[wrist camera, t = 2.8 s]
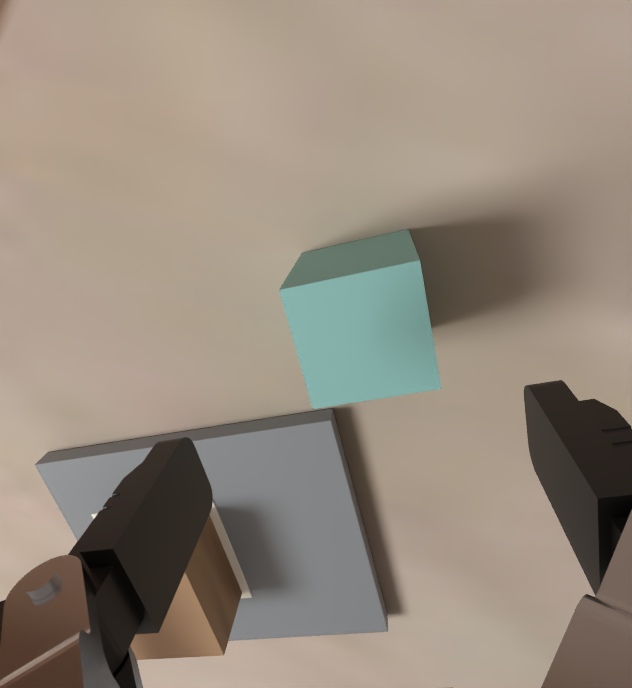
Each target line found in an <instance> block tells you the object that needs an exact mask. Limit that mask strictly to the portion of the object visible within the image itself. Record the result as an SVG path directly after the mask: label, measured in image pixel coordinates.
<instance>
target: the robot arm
mask: <svg viewBox="0 0 632 688" xmlns="http://www.w3.org/2000/svg"><path fill="white" fill-rule="evenodd" d="M524 401H525V412H526V423H527V434H528V445H529V451H530V456H531V460H532V463H533V466H534V469H535V472H536V474H537V476H538V478H539V480H540V482H541V484H542V486H543V488H544V490H545V493H546V495H547V497H548V499H549V501H550V503H551V505H552V507H553V509H554V511H555V513H556V515H557V517H558V519H559V521H560V523H561V526H562V528H563V530H564V532H565V534H566V536H567V538H568V540H569V542H570V544H571V546H572V548H573V550H574V552H575V554H576V556H577V558H578V561H579V563H580V565H581V567H582V569H583V571H584V573H585V575H586V577H587V579H588V581H589V583H590V585H591V587H592V589H593V591H594V594H595V597H593V596H590V595H588V594H586V595H584V596H583V597H582V599H581V600H580V602H579V603H578V605H577V607H576V609H575V612H574V614H573V616H572V618H571V621H570V623H569V625H568V628H567V630H566V632H565V634H564V637H563V639H562V641H561V644H560V646H559V648H558V650H557V653H556V655H555V657H554V660H553V662H552V664H551V666H550V669H549V671H548V673H547V676H546V678H545V680H544V682H543V685H542V687H541V688H632V429H631V426H630V425H629V424H628V423H627V421H626V420H625V419H624V418H623V417H622V416H621V415H620V413H619V412H618V411H617V410H615V409H613V408H611V407H609V406H607V405H605V404H603V403H601V402H599V401H597V400H596V399H590V400H583V401H578V399H577V398H576V397H575V396H574V394H573V393H572V392H571V390H570V389H569V388H568V386H567V385H566V384H565V383H564V382H563V381H562V380H559V381H553V382H546V383H540V384H533V385H527V386H525V388H524ZM212 503H213V494H212V488H211V485H210V482H209V480H208V477H207V475H206V472H205V470H204V467H203V465H202V462H201V460H200V458H199V455H198V453H197V450H196V448H195V445H194V443H193V442H192V440H191V439H190V438H188V437H183V438H177V439H170V440H164V441H159V442H157V443H156V444H155V445H154V446H153V448H152V449H151V451H150V452H149V454H148V455H147V457H146V458H145V459H144V461H143V462H142V464H139V465H138V466H137V467H136V468H135V469H134V470H132V471H131V472H130V473H129V474H128V475H127V476H125V477H124V478H123V479H122V481H121V482H120V484H119V485H118V486H117V488H116V489H115V490H114V492H113V493H112V497H109V499H108V500H107V502H106V503H105V504H104V506H103V510H100V511H99V513H98V514H97V515H96V517H95V518H94V520H93V521H92V522H91V524H90V525H89V526H88V528H87V529H86V531H85V532H84V533H83V535H82V536H81V538H80V539H79V540H78V542H77V543H76V544H75V546H74V547H73V549H72V550H71V551H70V553H69V554H68V555H63V556H59V557H55V558H53V559H50V560H48V561H46V562H44V563H42V564H40V565H39V566H37V567H35V568H34V569H32V570H31V571H30V572H28V573H27V574H26V575H25V576H24V577H23V578H22V579H20V580H19V581H18V583H17V584H16V585H15V586H14V587H13V588H12V590H11V591H10V593H9V594H8V596H7V598H6V600H4V601H1V602H0V688H143V686H142V682H141V677H140V673H139V669H138V664H137V660H136V656H135V653H134V652H133V650H132V648H131V646H130V645H131V643H132V641H133V639H134V636H135V634H150V633H159V631H160V629H161V626H162V624H163V622H164V619H165V617H166V615H167V612H168V610H169V608H170V605H171V603H172V601H173V598H174V596H175V594H176V591H177V589H178V587H179V584H180V582H181V580H182V577H183V575H184V573H185V570H186V568H187V566H188V563H189V561H190V559H191V556H192V554H193V552H194V549H195V547H196V545H197V542H198V540H199V538H200V535H201V533H202V531H203V528H204V526H205V524H206V521H207V519H208V517H209V514H210V512H211V509H212Z"/></svg>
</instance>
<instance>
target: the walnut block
mask: <svg viewBox="0 0 632 688" xmlns="http://www.w3.org/2000/svg"><path fill="white" fill-rule="evenodd" d="M241 595H242V591H241V589H240V586H239V584H238V581H237V579H236V577H235V574H234V572H233V569H232V567H231V565H230V562H229V560H228V557H227V555H226V553H225V550H224V548H223V546H222V543H221V541H220V538H219V536H218V534H217V531H216V529H215V526H214V524H213V522H212V519H211V517H210V514H209V517H208V519H207V521H206V524H205V526H204V528H203V531H202V533H201V535H200V538H199V540H198V542H197V545H196V547H195V549H194V552H193V554H192V556H191V559H190V561H189V563H188V566H187V568H186V570H185V573H184V575H183V577H182V580H181V582H180V584H179V587H178V589H177V591H176V594H175V596H174V598H173V601H172V603H171V605H170V608H169V610H168V612H167V615H166V617H165V619H164V622H163V624H162V626H161V629H160V631H159V633H150V634H135V636H134V639H133V641H132V643H131V645H130V646H131V648H132V650H133V652H134V653H135V656H136V660H142V659H162V658H181V657H200V656H220V655H224V653H225V650H226V647H227V643H228V640H229V636H230V633H231V629H232V626H233V623H234V619H235V616H236V612H237V609H238V605H239V602H240V599H241Z"/></svg>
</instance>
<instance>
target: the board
mask: <svg viewBox="0 0 632 688" xmlns="http://www.w3.org/2000/svg"><path fill="white" fill-rule="evenodd" d="M183 437H188V438H190V439H191V440H192V442H193V443H194V445H195V448H196V450H197V453H198V455H199V458H200V460H201V462H202V465H203V467H204V470H205V472H206V475H207V477H208V480H209V482H210V485H211V488H212V494H213V503H212V509H211V512H210V517H211V519H212V522H213V524H214V526H215V529H216V531H217V534H218V536H219V538H220V541H221V543H222V546H223V548H224V550H225V553H226V555H227V557H228V560H229V562H230V565H231V567H232V569H233V572H234V574H235V577H236V579H237V581H238V584H239V586H240V589H241V591H242V595H241V599H240V602H239V605H238V609H237V612H236V616H235V619H234V623H233V626H232V629H231V633H230V636H229V640H228V641H234V640H251V639H268V638H285V637H303V636H320V635H337V634H355V633H372V632H388V618H387V611H386V607H385V603H384V600H383V596H382V592H381V588H380V585H379V581H378V577H377V574H376V570H375V566H374V562H373V559H372V555H371V551H370V547H369V544H368V540H367V536H366V532H365V529H364V525H363V521H362V517H361V514H360V510H359V506H358V502H357V499H356V495H355V491H354V487H353V484H352V480H351V476H350V472H349V469H348V465H347V461H346V457H345V454H344V450H343V446H342V442H341V439H340V435H339V431H338V427H337V424H336V420H335V416H334V412H333V409H325V410H319V411H312V412H306V413H299V414H293V415H286V416H280V417H273V418H267V419H261V420H254V421H248V422H241V423H235V424H228V425H222V426H215V427H209V428H203V429H196V430H190V431H183V432H177V433H170V434H164V435H157V436H151V437H144V438H138V439H132V440H125V441H119V442H112V443H106V444H99V445H93V446H86V447H80V448H73V449H67V450H61V451H54V452H48V453H47V454H45V455H44V456H43V457H42V458H41V459H40V460H39V461H38V462H37V463H36V464H35V466H36V468H37V470H38V472H39V473H40V475H41V477H42V479H43V480H44V482H45V484H46V486H47V488H48V489H49V491H50V493H51V495H52V496H53V498H54V500H55V502H56V503H57V505H58V507H59V509H60V511H61V512H62V514H63V516H64V518H65V519H66V521H67V523H68V525H69V527H70V528H71V530H72V532H73V534H74V535H75V537H76V539H77V541H78V540H79V539H80V538H81V536H82V535H83V533H84V532H85V531H86V529H87V528H88V526H89V525H90V524H91V522H92V521H93V520H94V518H95V517H96V515H97V514H98V513H99V511H100V510H103V506H104V504H105V503H106V502H107V500H108V499H109V497H112V493H113V492H114V490H115V489H116V488H117V486H118V485H119V484H120V482H121V481H122V479H123V478H124V477H125V476H127V475H128V474H129V473H130V472H131V471H132V470H134V469H135V468H136V467H137V466H138V465H139V464H142V462H143V461H144V459H145V458H146V457H147V455H148V454H149V452H150V451H151V449H152V448H153V446H154V445H155V444H156V443H157V442H159V441H164V440H170V439H177V438H183Z"/></svg>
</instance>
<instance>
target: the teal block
mask: <svg viewBox="0 0 632 688" xmlns="http://www.w3.org/2000/svg"><path fill="white" fill-rule="evenodd" d="M279 292H280V295H281V299H282V302H283V306H284V309H285V313H286V316H287V320H288V323H289V327H290V330H291V334H292V337H293V341H294V344H295V348H296V351H297V355H298V358H299V362H300V365H301V369H302V372H303V376H304V379H305V383H306V386H307V390H308V393H309V397H310V400H311V404H312V407H313V409H317V408H323V407H329V406H336V405H342V404H348V403H355V402H361V401H367V400H374V399H380V398H386V397H393V396H399V395H405V394H412V393H418V392H424V391H431V390H437V389H441V384H440V378H439V372H438V366H437V360H436V354H435V348H434V341H433V335H432V329H431V323H430V317H429V311H428V305H427V299H426V293H425V287H424V281H423V275H422V269H421V263H420V259H419V256H418V254H417V251H416V249H415V246H414V243H413V241H412V238H411V235H410V233H409V230H408V229H406V230H402V231H397V232H393V233H389V234H384V235H380V236H375V237H371V238H366V239H362V240H358V241H353V242H349V243H344V244H340V245H335V246H331V247H326V248H322V249H318V250H313V251H309V252H304V253H302V254H301V255H300V257H299V259H298V260H297V262H296V263H295V265H294V267H293V268H292V270H291V272H290V273H289V275H288V276H287V278H286V280H285V281H284V283H283V284H282V286H281V288H280V289H279Z"/></svg>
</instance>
